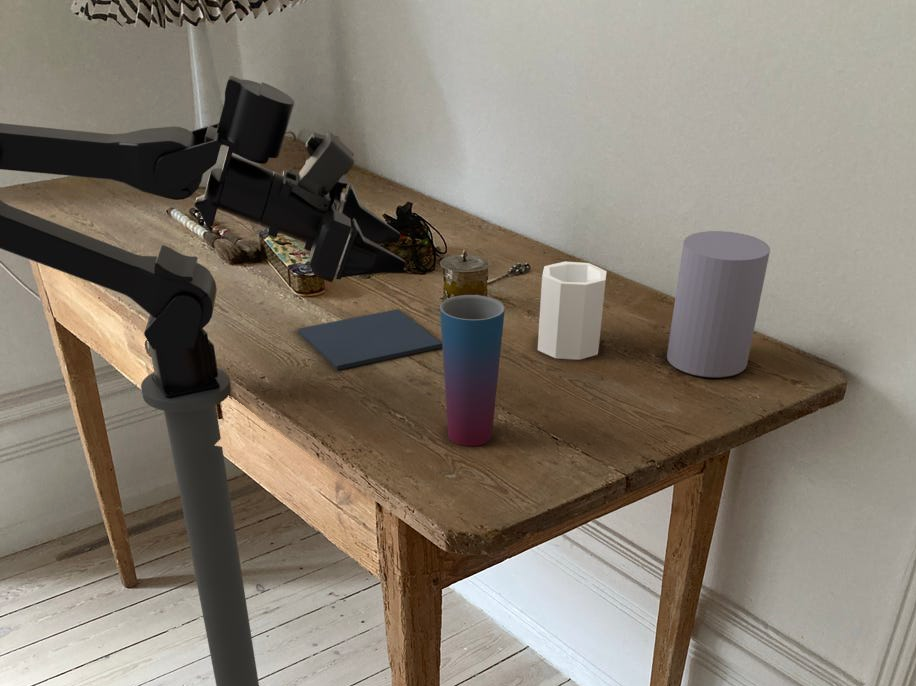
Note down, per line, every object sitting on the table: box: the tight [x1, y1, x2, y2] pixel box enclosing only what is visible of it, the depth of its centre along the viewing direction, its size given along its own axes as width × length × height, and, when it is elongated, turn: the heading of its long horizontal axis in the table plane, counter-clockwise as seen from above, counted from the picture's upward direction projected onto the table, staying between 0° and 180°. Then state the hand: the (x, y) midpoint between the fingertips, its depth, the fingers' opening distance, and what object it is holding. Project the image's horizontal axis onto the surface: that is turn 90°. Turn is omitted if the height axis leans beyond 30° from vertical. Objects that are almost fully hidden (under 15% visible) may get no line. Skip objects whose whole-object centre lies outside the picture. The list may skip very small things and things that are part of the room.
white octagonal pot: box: [537, 261, 607, 361], centre depth 135 cm, size 12×9×10 cm
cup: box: [439, 294, 506, 447], centre depth 112 cm, size 7×7×15 cm
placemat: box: [297, 308, 443, 371], centre depth 136 cm, size 15×13×1 cm
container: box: [666, 230, 771, 379], centre depth 129 cm, size 10×10×15 cm
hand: (401, 251), depth 116 cm, fingers open, 9 cm apart
